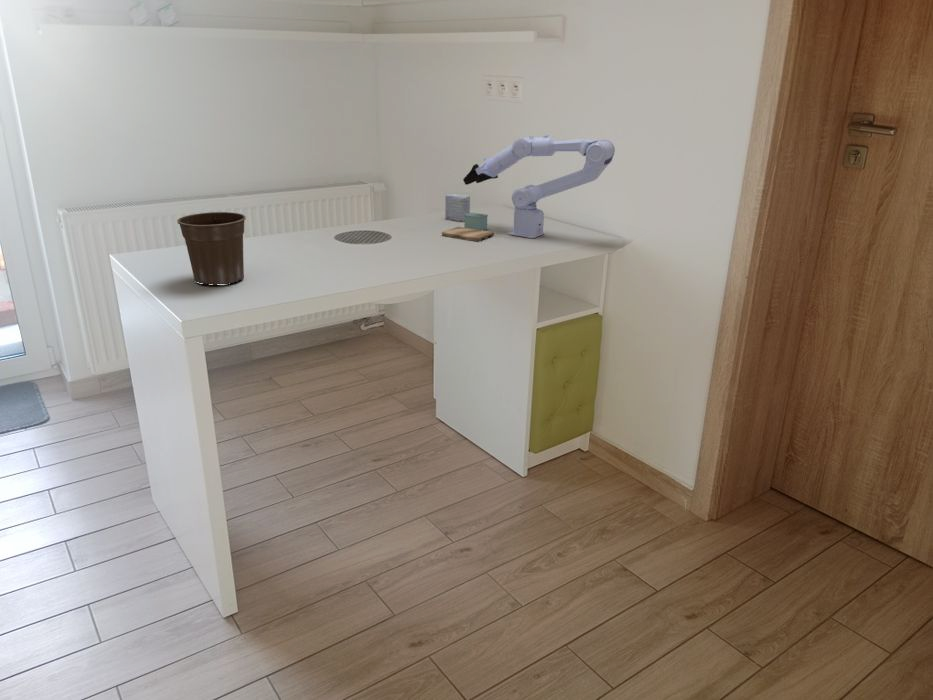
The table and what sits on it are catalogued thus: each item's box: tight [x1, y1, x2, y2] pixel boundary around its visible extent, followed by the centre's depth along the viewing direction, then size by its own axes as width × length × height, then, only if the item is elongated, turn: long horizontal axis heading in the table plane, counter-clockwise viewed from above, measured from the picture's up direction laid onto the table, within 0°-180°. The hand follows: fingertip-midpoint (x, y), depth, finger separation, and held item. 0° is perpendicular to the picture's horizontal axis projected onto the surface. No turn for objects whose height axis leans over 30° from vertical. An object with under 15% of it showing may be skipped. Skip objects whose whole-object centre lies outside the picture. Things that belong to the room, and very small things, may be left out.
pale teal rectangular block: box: [463, 212, 489, 231], centre depth 241 cm, size 6×5×5 cm
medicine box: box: [444, 193, 471, 223], centre depth 254 cm, size 8×4×9 cm, turn 58°
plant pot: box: [177, 211, 246, 285], centre depth 180 cm, size 16×16×16 cm
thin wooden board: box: [441, 226, 495, 242], centre depth 233 cm, size 14×10×1 cm
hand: (470, 181), depth 239 cm, fingers open, 7 cm apart
